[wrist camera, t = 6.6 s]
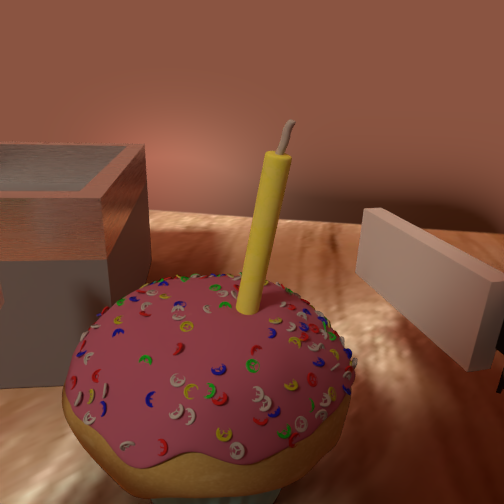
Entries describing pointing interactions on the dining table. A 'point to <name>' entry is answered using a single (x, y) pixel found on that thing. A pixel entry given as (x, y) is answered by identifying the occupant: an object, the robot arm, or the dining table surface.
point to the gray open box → (64, 298)
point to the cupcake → (212, 378)
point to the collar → (67, 198)
